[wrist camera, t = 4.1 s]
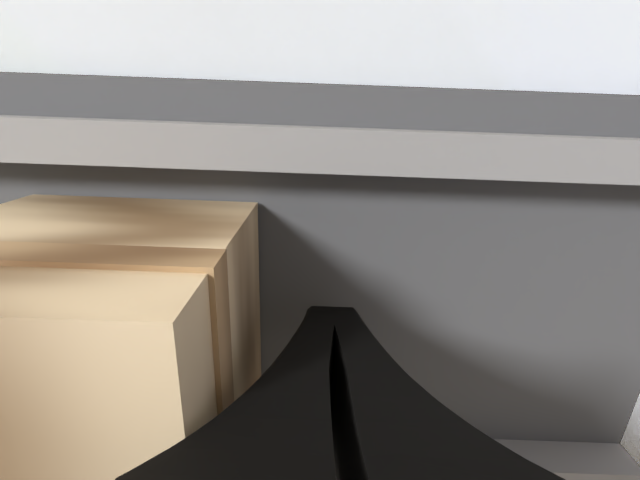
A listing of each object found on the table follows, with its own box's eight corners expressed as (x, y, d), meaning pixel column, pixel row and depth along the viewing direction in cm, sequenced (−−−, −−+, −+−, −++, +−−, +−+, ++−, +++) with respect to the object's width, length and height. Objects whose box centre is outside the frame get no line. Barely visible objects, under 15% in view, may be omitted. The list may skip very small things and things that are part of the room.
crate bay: (736, 99, 10) (814, 97, 8) (595, 475, 14) (628, 520, 12) (-209, 65, 10) (-309, 57, 8) (-57, 453, 14) (-104, 495, 12)
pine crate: (261, 198, 10) (180, 315, 4) (265, 412, 12) (215, 667, 7) (28, 190, 10) (-353, 296, 4) (76, 405, 12) (-131, 655, 7)
